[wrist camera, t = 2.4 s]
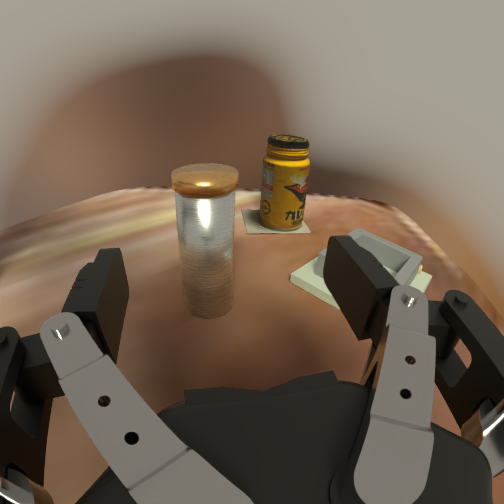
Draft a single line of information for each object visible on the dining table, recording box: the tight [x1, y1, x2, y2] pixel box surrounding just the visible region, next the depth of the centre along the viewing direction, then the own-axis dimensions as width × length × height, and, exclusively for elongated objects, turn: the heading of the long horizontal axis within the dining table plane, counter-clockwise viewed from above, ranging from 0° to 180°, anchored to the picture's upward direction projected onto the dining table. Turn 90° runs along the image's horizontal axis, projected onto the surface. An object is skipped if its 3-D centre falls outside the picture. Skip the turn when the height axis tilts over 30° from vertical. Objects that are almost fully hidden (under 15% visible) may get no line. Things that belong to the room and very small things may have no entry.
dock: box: [290, 228, 432, 310], centre depth 30 cm, size 12×12×4 cm
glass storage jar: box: [172, 163, 238, 319], centre depth 24 cm, size 5×5×12 cm
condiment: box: [242, 135, 311, 234], centre depth 39 cm, size 7×8×12 cm
